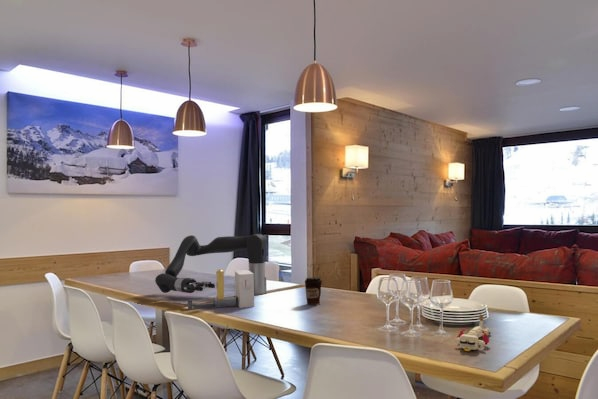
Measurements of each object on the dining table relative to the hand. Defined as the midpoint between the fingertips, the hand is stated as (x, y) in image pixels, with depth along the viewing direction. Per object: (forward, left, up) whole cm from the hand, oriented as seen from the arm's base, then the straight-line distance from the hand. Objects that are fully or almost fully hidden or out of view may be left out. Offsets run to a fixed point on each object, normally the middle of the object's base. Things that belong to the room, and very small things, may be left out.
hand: (208, 287), depth 232 cm
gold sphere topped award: (-7, +6, -8) cm, 12 cm away
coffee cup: (-49, +19, -9) cm, 53 cm away
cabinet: (-17, +6, -9) cm, 20 cm away
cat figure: (-80, +100, -9) cm, 129 cm away
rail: (-3, +6, -9) cm, 11 cm away
